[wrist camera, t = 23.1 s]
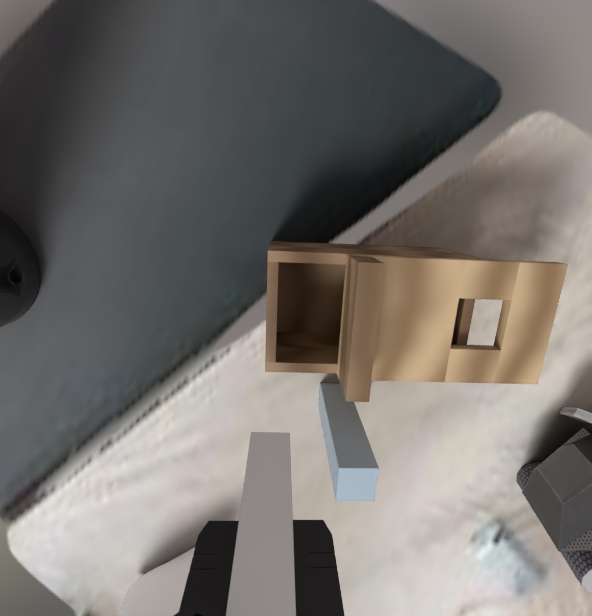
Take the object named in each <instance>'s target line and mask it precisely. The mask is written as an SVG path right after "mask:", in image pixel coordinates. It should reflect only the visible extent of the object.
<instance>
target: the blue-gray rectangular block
mask: <svg viewBox="0 0 592 616" xmlns="http://www.w3.org/2000/svg"><path fill="white" fill-rule="evenodd" d="M318 407H319V413H320V418H321V423H322V429H323V434H324V439H325V445H326V450H327V456H328V461H329V466H330V472H331V477H332V482H333V488H334V493H335V499H336V501H375V494H376V486H377V478H378V470H379V468H378V465H377V463H376V460H375V457H374V454H373V452H372V449H371V446H370V444H369V441H368V438H367V436H366V433H365V430H364V428H363V425H362V422H361V420H360V417H359V414H358V412H357V409H356V406H355V404H354V402H350V401H346V400H345V397H344V394H343V391H342V388H341V385H340V383H320V392H319V406H318Z"/></svg>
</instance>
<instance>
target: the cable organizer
mask: <svg viewBox="0 0 592 616" xmlns="http://www.w3.org/2000/svg"><path fill="white" fill-rule="evenodd" d="M194 550H195V547H194V548H192V549H190V550H189V551H187V552H185V553H183V554H181V555H180V556H178V557H176V558H175V559H173V560H171V561H169V562H167V563H165V564H163V565H160V566H158V567H156V568H154V569H152V570H151V571H149V572H147V573H146V574H144V575H142V576H141V577H139V578H138V579H137V580H136V581H135V582H134V583H133V584H132V585H131V587H130V588H129V590H128V592H127V594H126V596H125V599H124V601H123V604H122V606H121V609H120V611H119V614H118V616H174V615H175V614H177V613H178V612H179V609H180V605H181V601H182V597H183V593H184V589H185V585H186V581H187V578H188V574H189V571H190V566H191V562H192V558H193V555H194Z"/></svg>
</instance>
